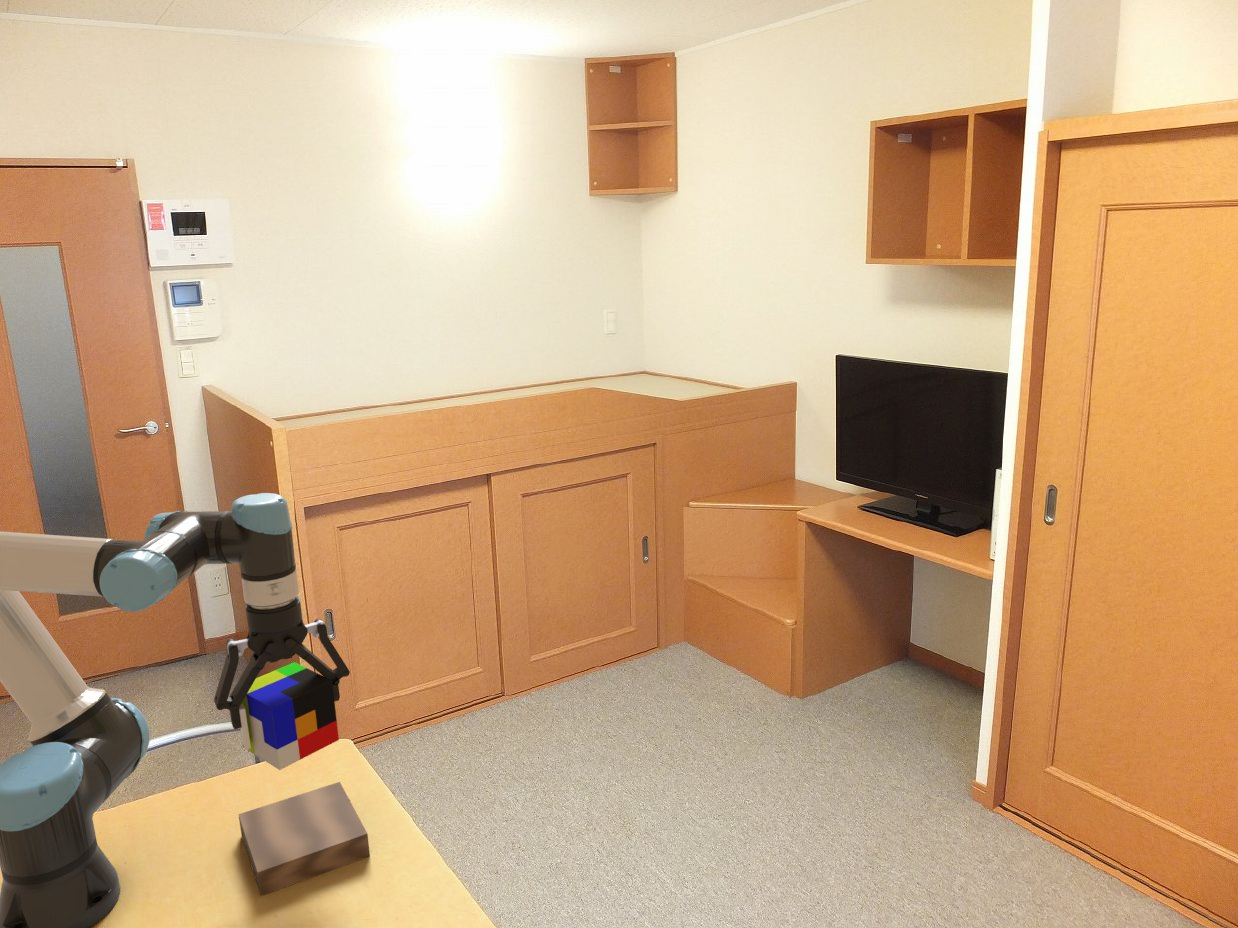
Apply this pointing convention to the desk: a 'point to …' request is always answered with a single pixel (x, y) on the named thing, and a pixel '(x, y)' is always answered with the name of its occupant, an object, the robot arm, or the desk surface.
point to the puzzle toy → (290, 715)
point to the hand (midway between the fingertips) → (289, 732)
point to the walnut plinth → (302, 837)
